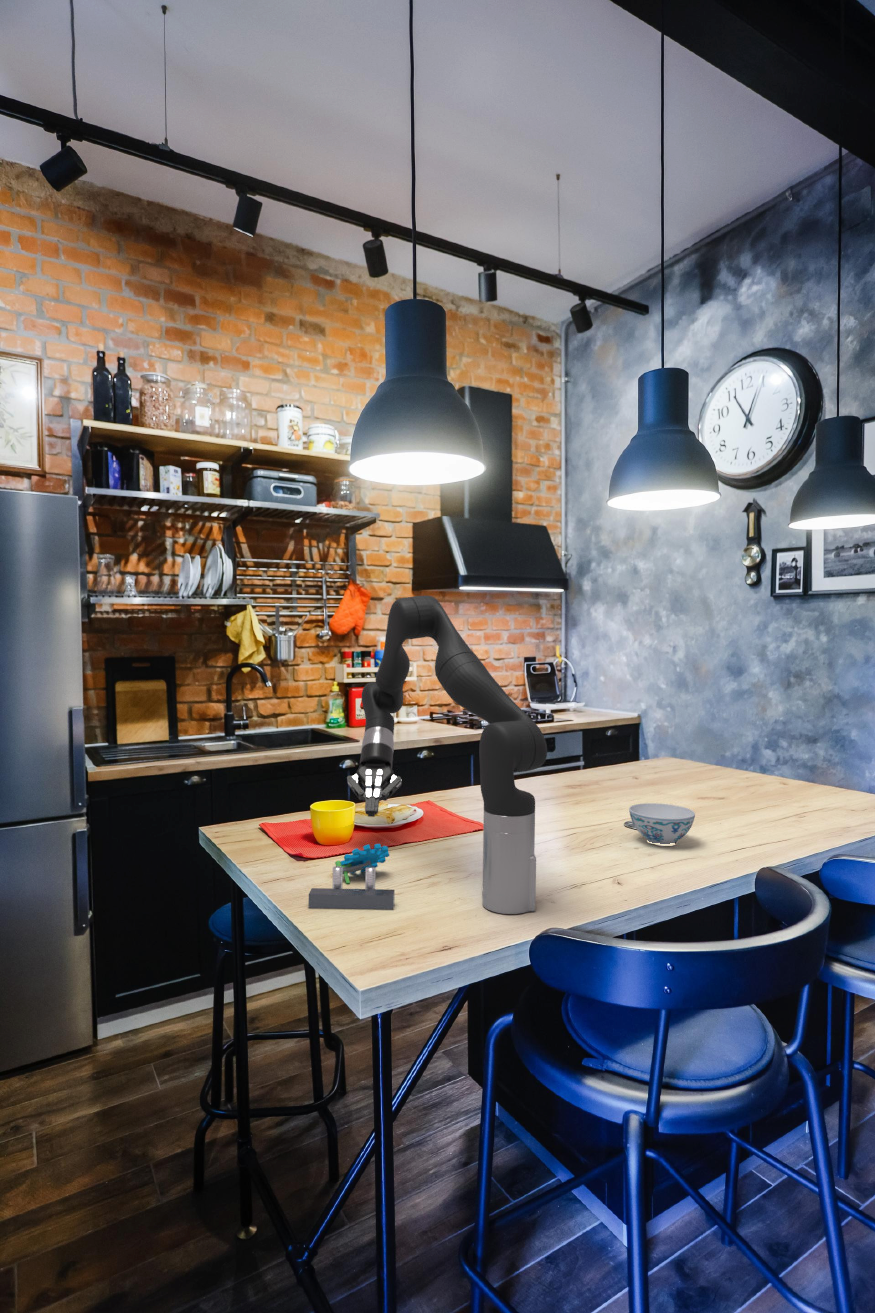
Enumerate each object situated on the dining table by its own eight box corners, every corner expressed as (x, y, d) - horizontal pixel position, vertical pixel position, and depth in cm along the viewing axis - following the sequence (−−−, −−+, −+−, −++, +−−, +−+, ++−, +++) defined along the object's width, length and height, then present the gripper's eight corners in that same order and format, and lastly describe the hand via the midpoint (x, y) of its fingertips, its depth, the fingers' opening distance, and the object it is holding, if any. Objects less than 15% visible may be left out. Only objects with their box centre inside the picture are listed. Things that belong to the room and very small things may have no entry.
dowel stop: (395, 899, 132) (395, 867, 131) (393, 909, 127) (393, 876, 127) (313, 898, 132) (313, 865, 132) (308, 908, 127) (308, 874, 127)
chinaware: (615, 838, 174) (615, 806, 174) (661, 831, 181) (661, 801, 181) (660, 855, 161) (661, 821, 161) (708, 847, 168) (709, 814, 167)
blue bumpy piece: (385, 860, 149) (390, 836, 142) (393, 886, 146) (398, 863, 139) (333, 872, 146) (335, 848, 139) (339, 899, 142) (342, 876, 135)
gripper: (347, 740, 167) (339, 805, 155) (404, 741, 167) (400, 806, 155) (350, 759, 172) (342, 823, 160) (405, 760, 172) (401, 824, 160)
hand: (371, 814), depth 158 cm, fingers closed
